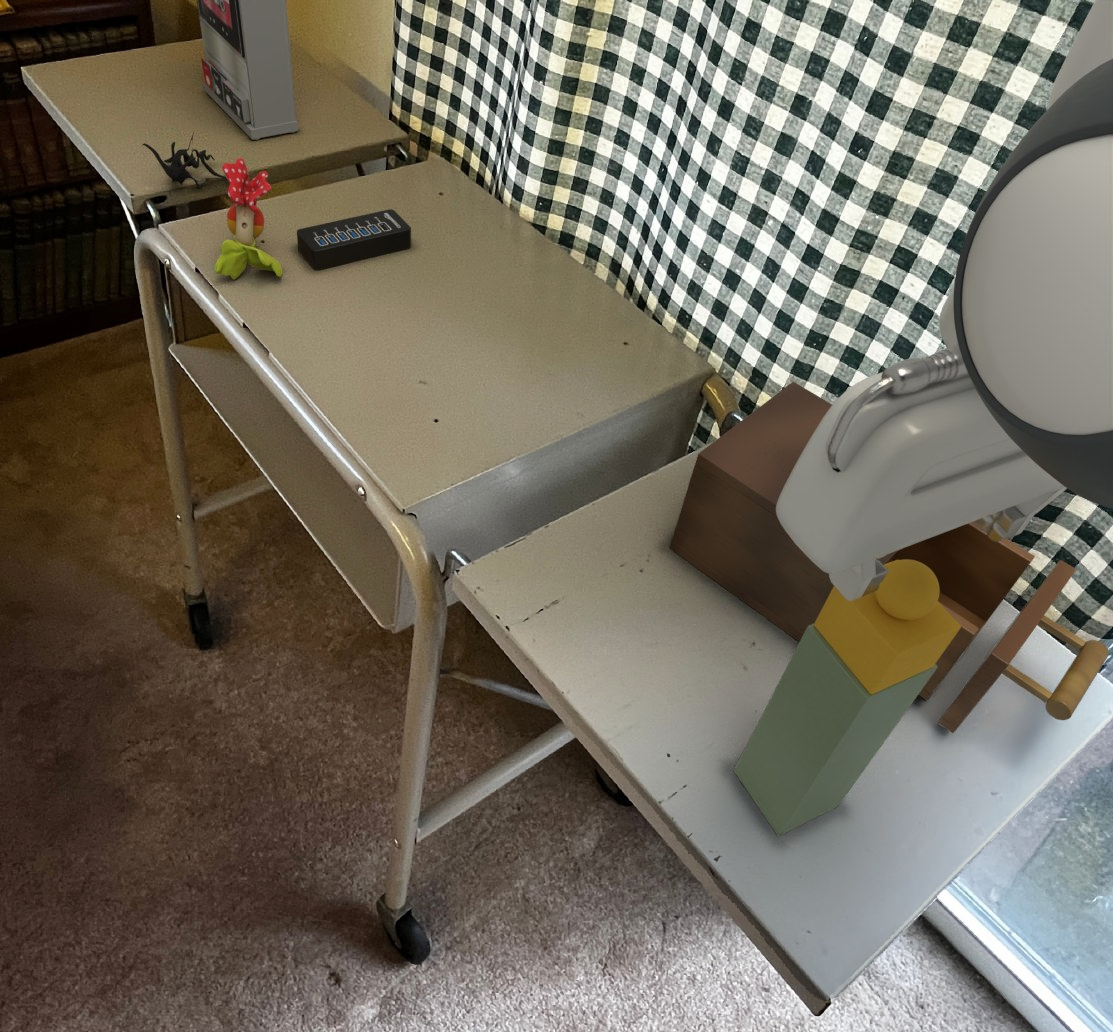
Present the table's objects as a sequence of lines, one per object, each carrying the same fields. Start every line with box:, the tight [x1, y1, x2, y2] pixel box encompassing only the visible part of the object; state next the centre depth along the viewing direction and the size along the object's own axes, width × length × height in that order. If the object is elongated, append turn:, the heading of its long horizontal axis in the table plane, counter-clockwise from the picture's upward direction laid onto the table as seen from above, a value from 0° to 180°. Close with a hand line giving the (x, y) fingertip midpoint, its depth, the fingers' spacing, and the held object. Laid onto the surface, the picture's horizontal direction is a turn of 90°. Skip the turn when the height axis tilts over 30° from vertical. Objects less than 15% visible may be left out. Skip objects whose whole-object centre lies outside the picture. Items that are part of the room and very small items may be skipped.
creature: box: [142, 131, 228, 189], centre depth 103 cm, size 8×5×8 cm
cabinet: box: [669, 381, 903, 643], centre depth 73 cm, size 15×13×10 cm
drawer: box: [891, 521, 1110, 734], centre depth 68 cm, size 18×12×8 cm, turn 48°
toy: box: [814, 559, 961, 695], centre depth 48 cm, size 5×4×6 cm
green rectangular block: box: [733, 624, 938, 837], centre depth 57 cm, size 5×5×16 cm
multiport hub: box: [296, 208, 412, 271], centre depth 99 cm, size 4×11×2 cm, turn 125°
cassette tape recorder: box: [196, 0, 299, 141], centre depth 108 cm, size 14×6×25 cm, turn 37°
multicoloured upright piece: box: [213, 157, 283, 281], centre depth 92 cm, size 6×11×9 cm
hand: (925, 556), depth 46 cm, fingers open, 8 cm apart
